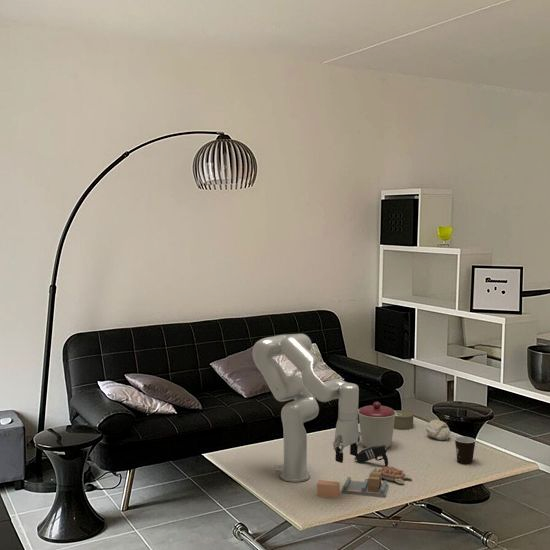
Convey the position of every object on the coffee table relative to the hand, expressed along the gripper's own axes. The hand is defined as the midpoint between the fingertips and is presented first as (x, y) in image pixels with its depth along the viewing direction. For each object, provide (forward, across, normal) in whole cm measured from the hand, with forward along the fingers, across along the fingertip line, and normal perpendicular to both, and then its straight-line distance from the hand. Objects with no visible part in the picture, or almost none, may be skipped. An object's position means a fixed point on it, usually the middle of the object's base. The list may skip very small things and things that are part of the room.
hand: (346, 458), depth 276 cm
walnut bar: (+12, -9, +8) cm, 17 cm away
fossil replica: (+14, -84, -4) cm, 85 cm away
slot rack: (+14, -7, +4) cm, 16 cm away
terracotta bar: (+14, +6, -4) cm, 16 cm away
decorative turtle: (+14, -24, +6) cm, 29 cm away
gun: (+14, -33, -10) cm, 37 cm away
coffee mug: (+13, -63, +20) cm, 67 cm away
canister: (+15, -54, -20) cm, 60 cm away
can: (+15, -88, -27) cm, 94 cm away
